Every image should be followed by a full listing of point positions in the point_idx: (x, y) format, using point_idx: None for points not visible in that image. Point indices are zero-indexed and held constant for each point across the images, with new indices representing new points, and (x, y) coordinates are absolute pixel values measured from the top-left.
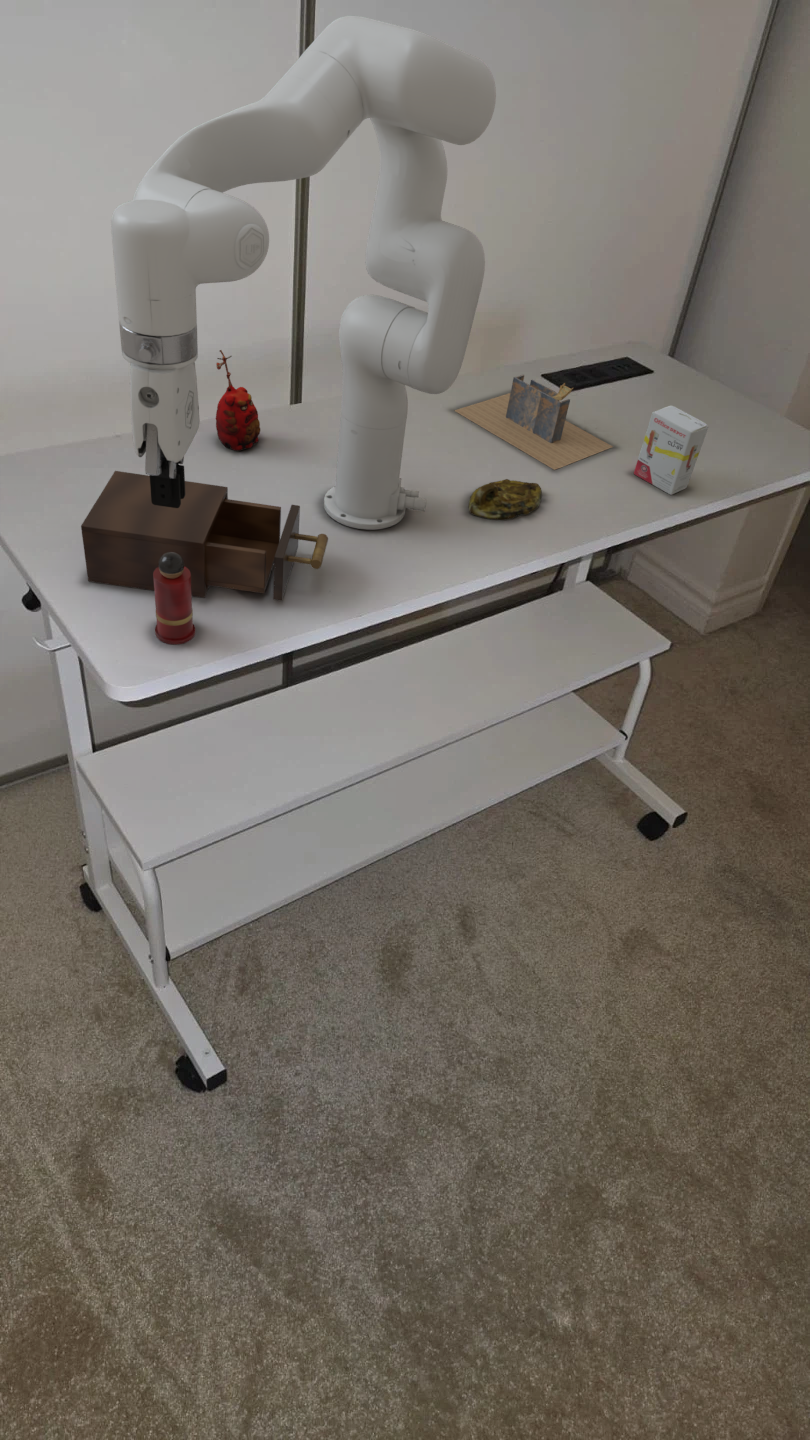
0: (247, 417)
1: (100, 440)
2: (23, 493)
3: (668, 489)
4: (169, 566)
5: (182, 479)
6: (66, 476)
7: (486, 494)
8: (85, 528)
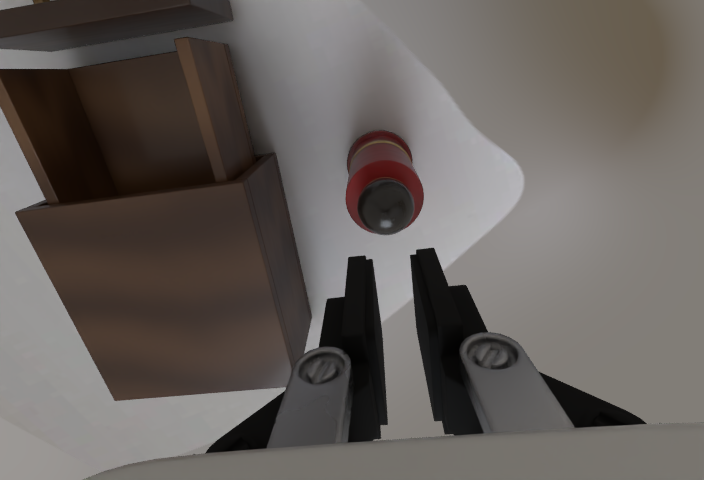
0: None
1: (7, 420)
2: (177, 443)
3: None
4: (411, 205)
5: (366, 299)
6: (111, 421)
7: None
8: None
